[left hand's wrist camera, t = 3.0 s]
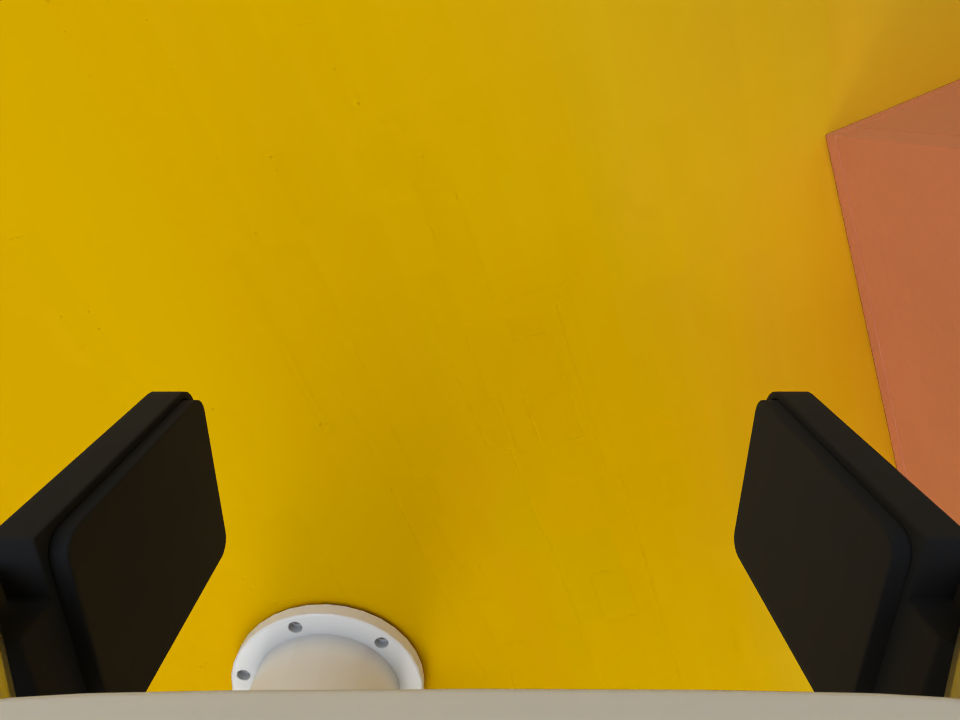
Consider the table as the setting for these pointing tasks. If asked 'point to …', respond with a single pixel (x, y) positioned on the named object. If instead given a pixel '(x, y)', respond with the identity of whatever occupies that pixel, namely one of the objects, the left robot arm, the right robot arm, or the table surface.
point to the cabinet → (910, 275)
